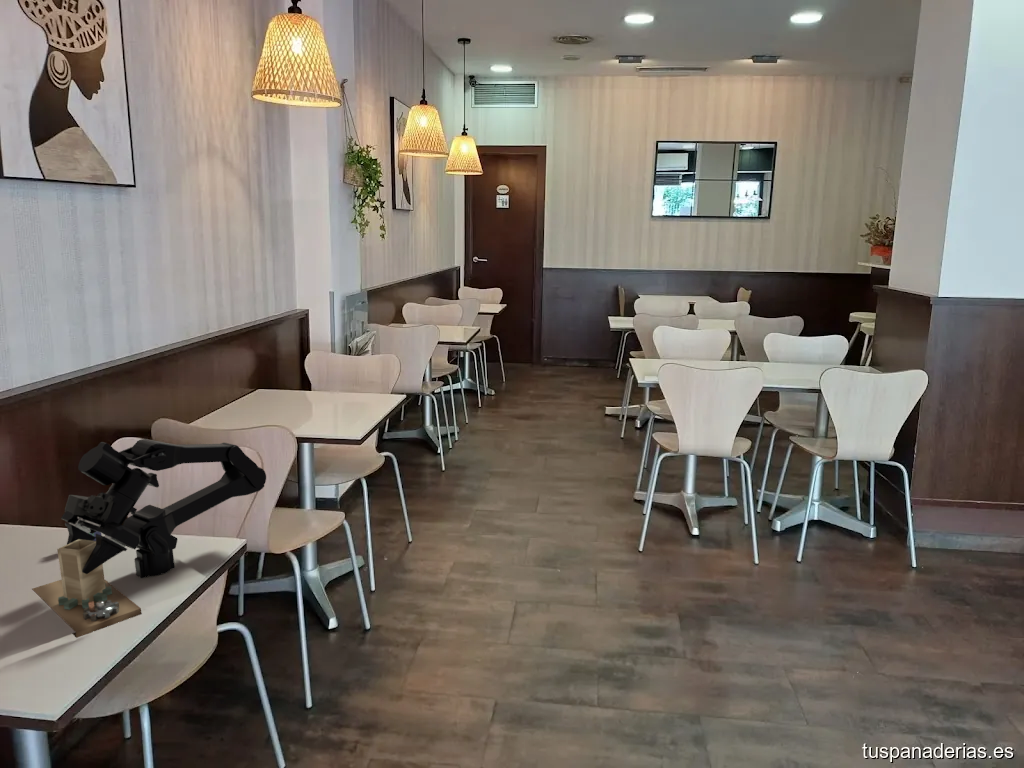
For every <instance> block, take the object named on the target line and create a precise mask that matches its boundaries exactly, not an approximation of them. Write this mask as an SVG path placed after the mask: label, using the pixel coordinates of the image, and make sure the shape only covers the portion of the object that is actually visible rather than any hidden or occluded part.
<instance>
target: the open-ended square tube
mask: <svg viewBox="0 0 1024 768" xmlns="http://www.w3.org/2000/svg"><path fill="white" fill-rule="evenodd" d="M95 546H96V541H91V540H82V539H78V540H76V541H74V542H72V543H69V544H67V543H66V545H64V546H63V545H62V547H59V548H57V555H58V556H57V557H58V563H59V570H60V578H61V579H60V580H62V586H63V593H64V596H62V597H58V601H59V605H64V609H68V610H70V609H72V608H73V607H75V606H77V605H82V607H83V609H84V608H86V607H89V604H88V603H89V602H90V601H96V602H98V601H106V600H107V595H110V594H112V590H111V586H109V587H106V583H105V580H106V579H105V572H104V566H103V564H104V563H103V564H101V565H100V566H98V567H97V568H96V569H94V570H93V571H91V572H90V573H88V574H85V573H83V572H82V570H83V568H84V566H85V564H86V562H87V560H88V558H89V557H90V555H91V553H92V551H93V550H94V548H95Z"/></svg>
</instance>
